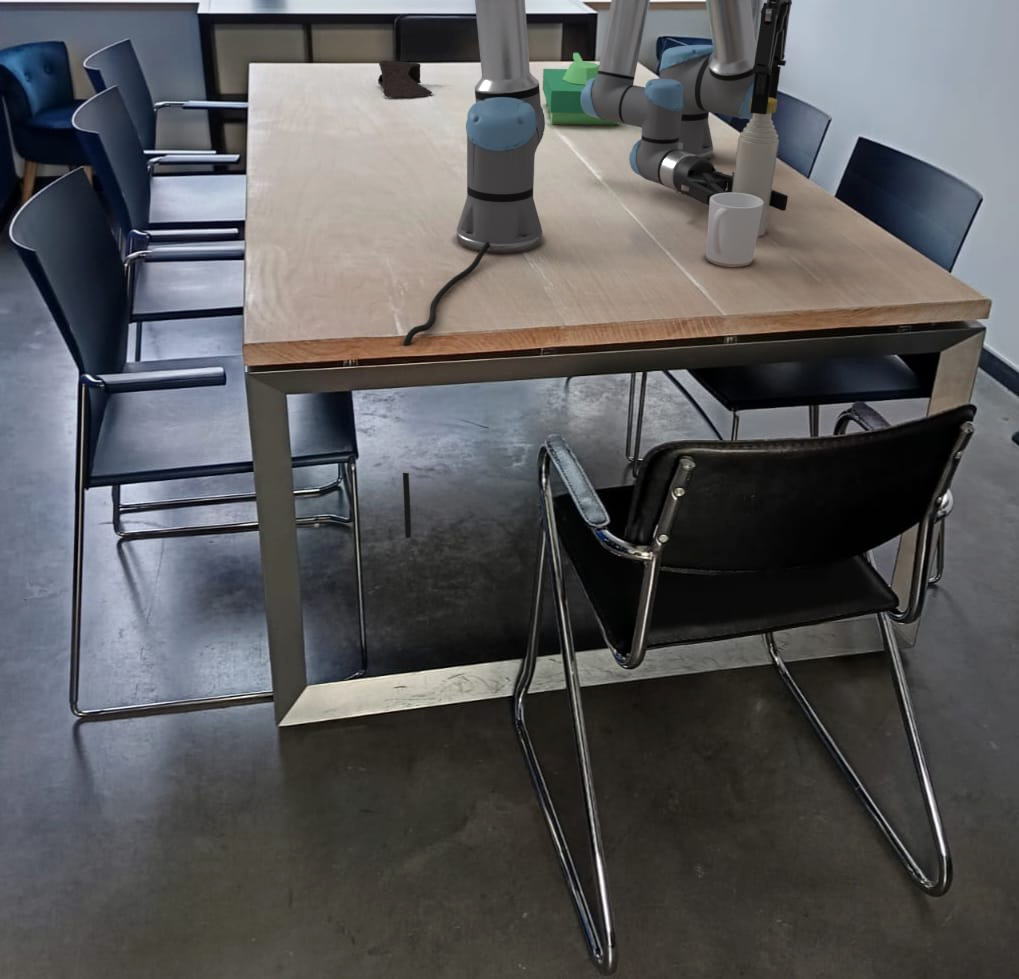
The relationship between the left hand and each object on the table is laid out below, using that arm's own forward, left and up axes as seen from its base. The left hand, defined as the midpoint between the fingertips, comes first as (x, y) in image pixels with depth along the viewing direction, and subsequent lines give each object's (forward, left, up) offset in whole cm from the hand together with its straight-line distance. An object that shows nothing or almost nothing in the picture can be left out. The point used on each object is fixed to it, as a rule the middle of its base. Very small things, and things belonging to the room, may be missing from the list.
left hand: (762, 108), depth 192 cm
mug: (-18, +4, -22) cm, 29 cm away
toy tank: (+90, +38, -22) cm, 100 cm away
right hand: (-4, -3, -16) cm, 17 cm away
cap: (0, 0, +1) cm, 1 cm away
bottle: (0, 0, -22) cm, 22 cm away
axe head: (+105, +87, -22) cm, 138 cm away
